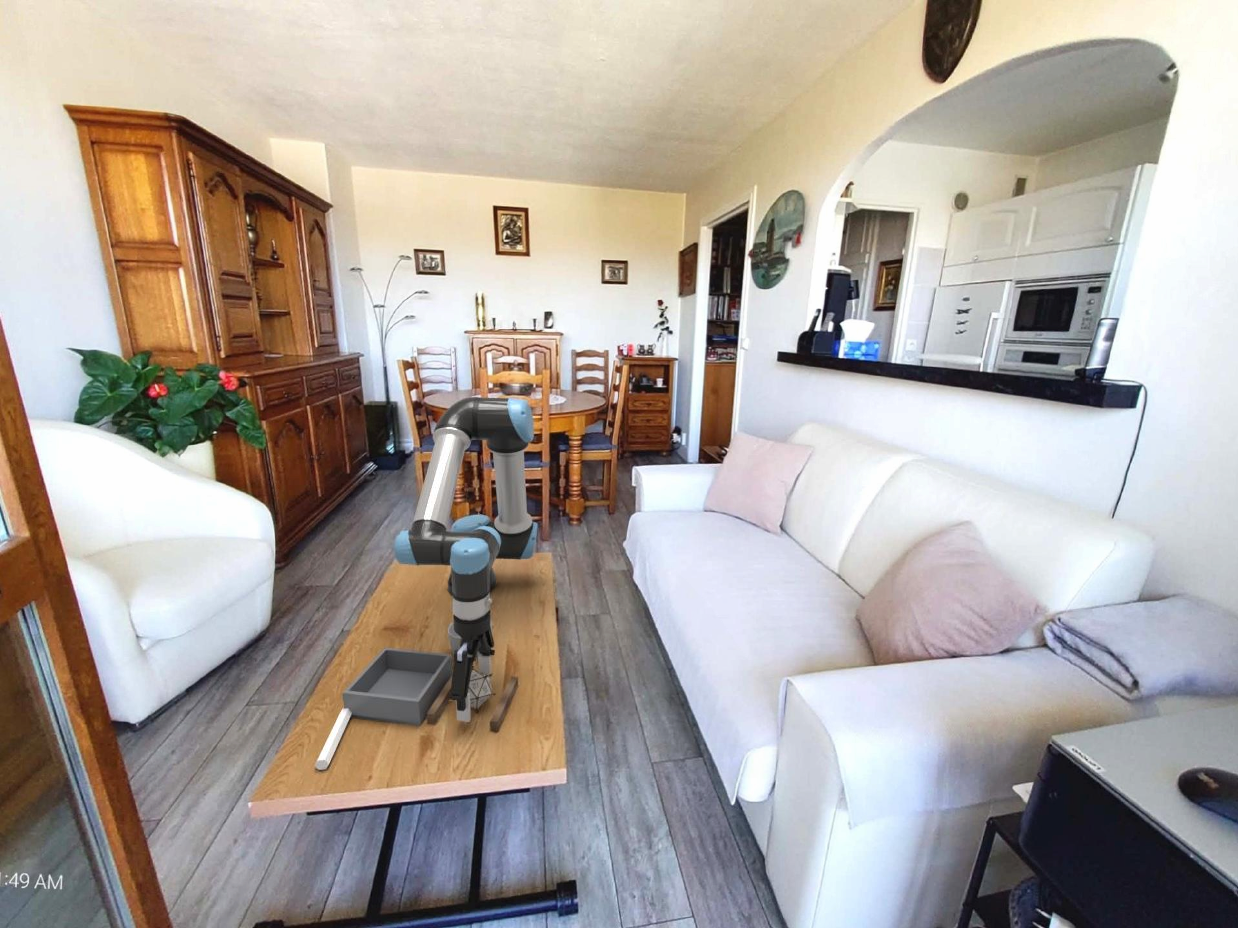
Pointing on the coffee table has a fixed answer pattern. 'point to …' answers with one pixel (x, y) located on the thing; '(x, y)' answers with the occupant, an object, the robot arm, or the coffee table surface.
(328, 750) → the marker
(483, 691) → the game die
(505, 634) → the coffee table surface
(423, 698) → the bin
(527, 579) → the coffee table surface
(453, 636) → the teacup
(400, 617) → the coffee table surface
